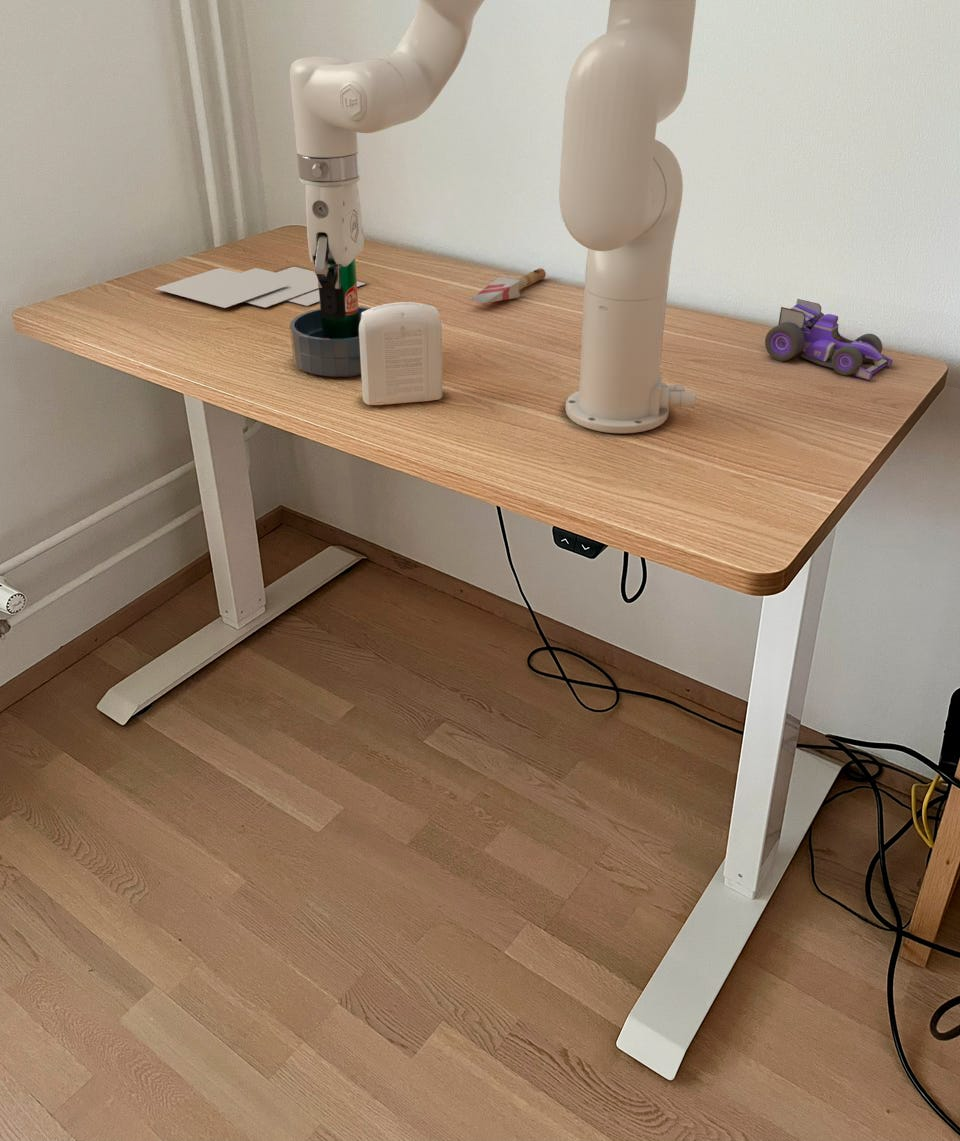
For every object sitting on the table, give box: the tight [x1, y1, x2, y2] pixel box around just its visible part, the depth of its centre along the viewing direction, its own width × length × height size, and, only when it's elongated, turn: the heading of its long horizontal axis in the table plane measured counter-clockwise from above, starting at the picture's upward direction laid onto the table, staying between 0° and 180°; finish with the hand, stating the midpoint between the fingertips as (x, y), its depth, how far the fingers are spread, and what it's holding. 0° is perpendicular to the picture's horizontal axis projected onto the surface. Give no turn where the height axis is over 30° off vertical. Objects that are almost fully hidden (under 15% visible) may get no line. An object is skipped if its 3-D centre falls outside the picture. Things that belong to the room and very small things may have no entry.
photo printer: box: [359, 301, 443, 406], centre depth 126 cm, size 10×4×12 cm, turn 103°
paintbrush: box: [469, 267, 547, 304], centre depth 164 cm, size 4×3×20 cm
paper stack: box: [154, 266, 366, 309], centre depth 167 cm, size 23×25×1 cm
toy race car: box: [764, 298, 894, 381], centre depth 138 cm, size 10×15×6 cm, turn 48°
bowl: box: [289, 305, 372, 378], centre depth 139 cm, size 14×14×6 cm
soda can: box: [319, 258, 359, 339], centre depth 136 cm, size 5×5×12 cm
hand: (339, 308), depth 137 cm, fingers closed on soda can, 5 cm apart
